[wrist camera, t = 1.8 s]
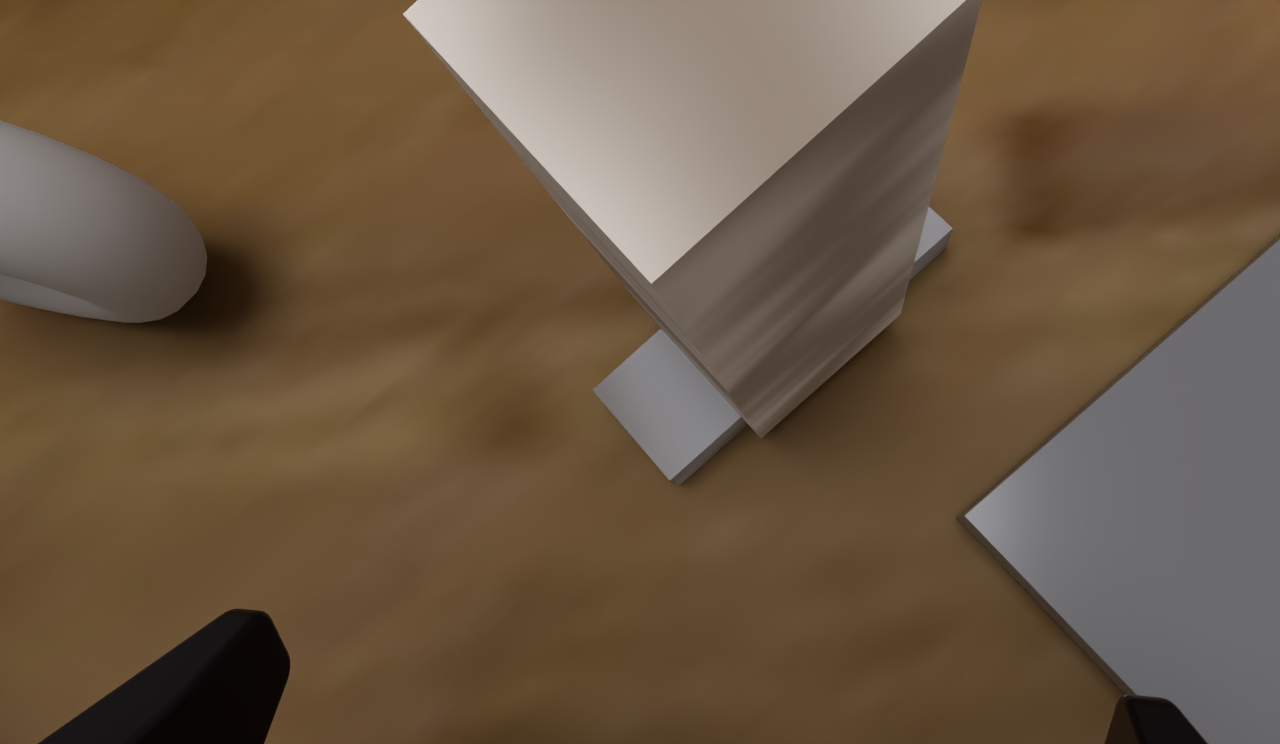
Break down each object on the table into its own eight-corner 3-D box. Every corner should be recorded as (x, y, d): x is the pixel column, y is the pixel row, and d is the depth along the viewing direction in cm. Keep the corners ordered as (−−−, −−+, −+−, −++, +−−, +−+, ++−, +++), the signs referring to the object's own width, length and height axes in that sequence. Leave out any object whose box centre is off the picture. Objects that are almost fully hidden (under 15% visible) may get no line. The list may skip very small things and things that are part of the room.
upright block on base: (697, 505, 23) (480, 437, 9) (591, 380, 24) (254, 151, 10) (965, 267, 23) (1165, -181, 9) (843, 153, 24) (848, -398, 10)
